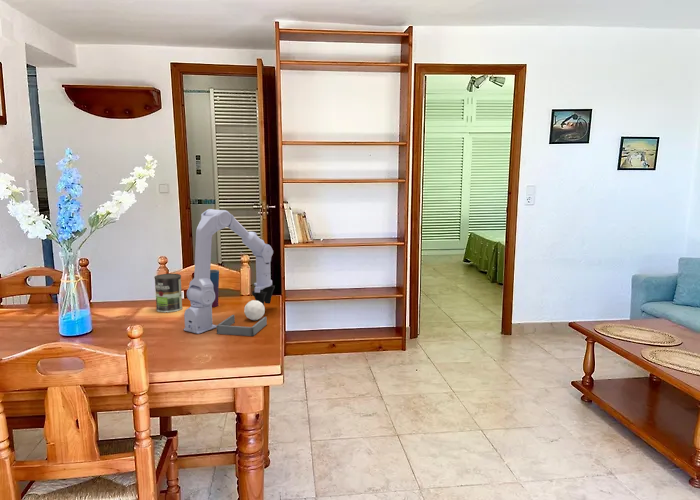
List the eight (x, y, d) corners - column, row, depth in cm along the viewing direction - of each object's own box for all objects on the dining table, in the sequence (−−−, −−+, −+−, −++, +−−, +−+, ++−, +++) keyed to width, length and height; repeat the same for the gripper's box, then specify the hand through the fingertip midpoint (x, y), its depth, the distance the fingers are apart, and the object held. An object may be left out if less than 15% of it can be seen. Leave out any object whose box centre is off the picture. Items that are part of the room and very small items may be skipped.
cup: (217, 307, 211) (216, 272, 208) (201, 307, 211) (200, 272, 208) (222, 303, 217) (220, 269, 215) (206, 303, 217) (205, 269, 215)
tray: (253, 336, 175) (252, 327, 175) (216, 333, 178) (216, 325, 177) (266, 324, 188) (266, 316, 188) (232, 322, 191) (232, 314, 190)
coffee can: (172, 313, 202) (170, 279, 200) (151, 311, 205) (148, 277, 203) (187, 307, 212) (186, 274, 210) (167, 305, 215) (165, 272, 213)
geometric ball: (255, 324, 197) (261, 305, 201) (265, 322, 191) (270, 302, 194) (238, 317, 193) (244, 298, 197) (247, 314, 187) (253, 295, 191)
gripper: (260, 269, 210) (261, 300, 212) (246, 276, 196) (247, 310, 198) (276, 269, 209) (277, 301, 211) (263, 277, 194) (264, 311, 197)
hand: (264, 305), depth 204 cm, fingers open, 7 cm apart
